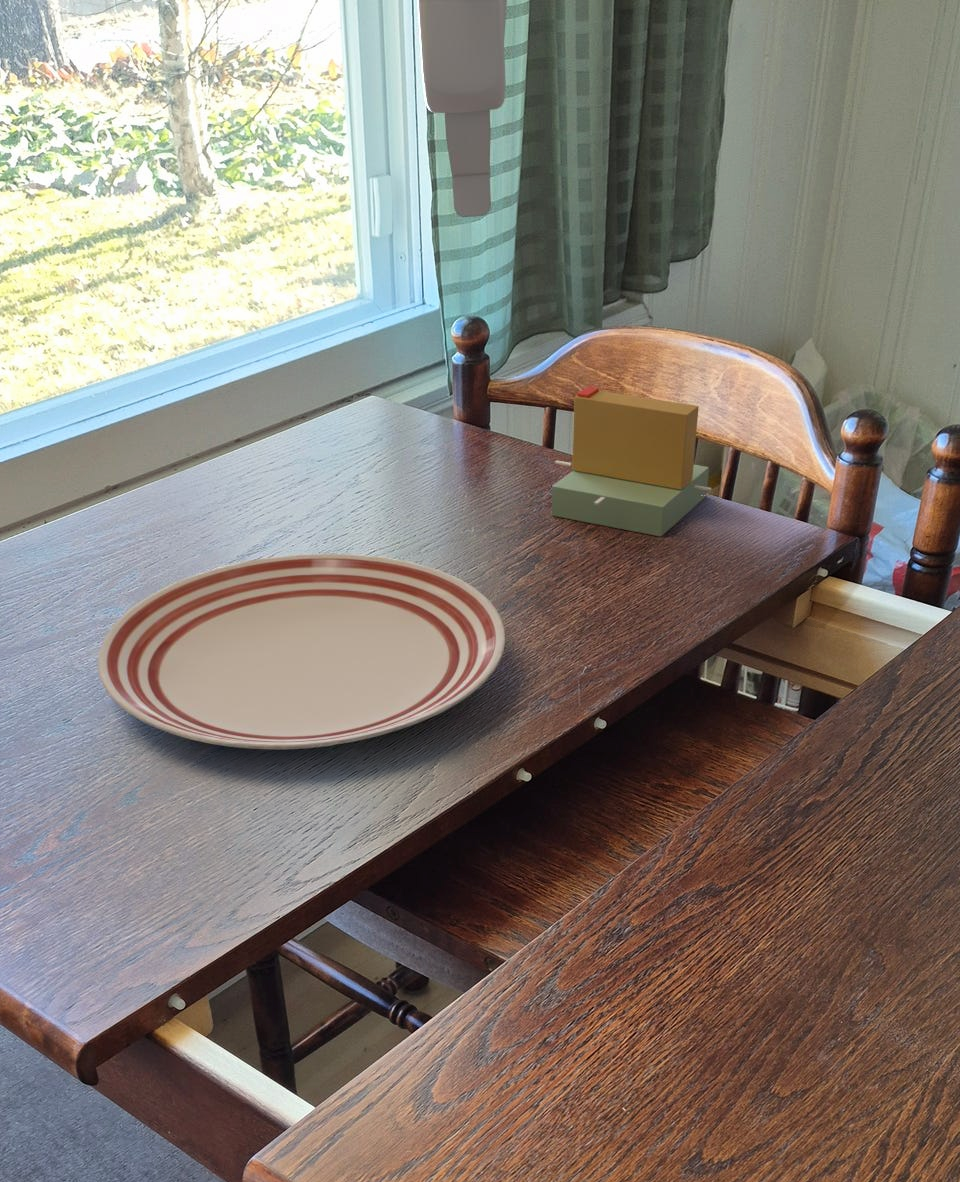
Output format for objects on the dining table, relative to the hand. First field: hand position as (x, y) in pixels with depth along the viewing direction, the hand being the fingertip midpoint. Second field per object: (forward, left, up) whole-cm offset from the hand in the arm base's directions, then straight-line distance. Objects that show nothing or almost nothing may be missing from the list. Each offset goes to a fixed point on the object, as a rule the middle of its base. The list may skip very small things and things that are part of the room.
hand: (473, 199), depth 74 cm
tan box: (+7, -39, -28) cm, 48 cm away
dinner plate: (+14, 0, -30) cm, 33 cm away
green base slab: (+7, -39, -30) cm, 50 cm away
